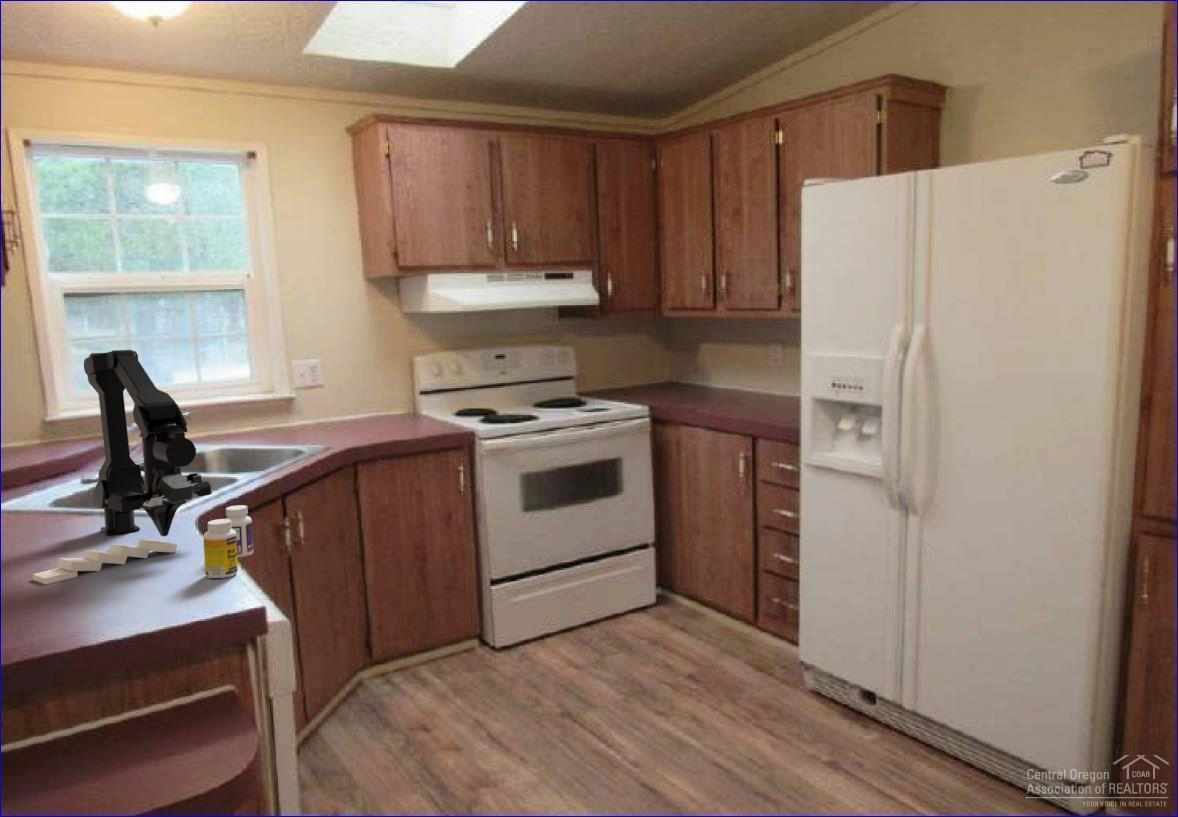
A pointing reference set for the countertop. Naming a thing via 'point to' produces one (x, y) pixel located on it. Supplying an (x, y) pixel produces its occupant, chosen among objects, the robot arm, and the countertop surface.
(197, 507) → the countertop surface
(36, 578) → the domino
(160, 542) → the domino
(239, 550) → the pill bottle
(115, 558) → the domino
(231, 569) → the supplement bottle
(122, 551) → the domino
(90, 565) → the domino
